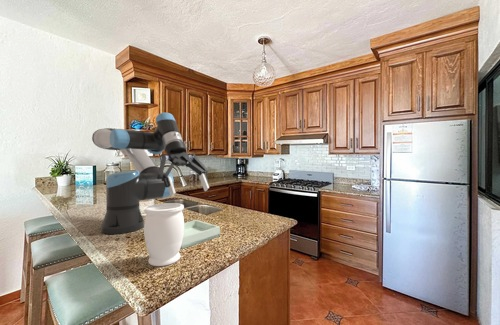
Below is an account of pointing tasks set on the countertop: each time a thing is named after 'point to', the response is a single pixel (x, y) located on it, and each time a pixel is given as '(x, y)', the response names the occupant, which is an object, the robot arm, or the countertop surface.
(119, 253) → the countertop surface
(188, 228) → the tray
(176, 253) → the jar
